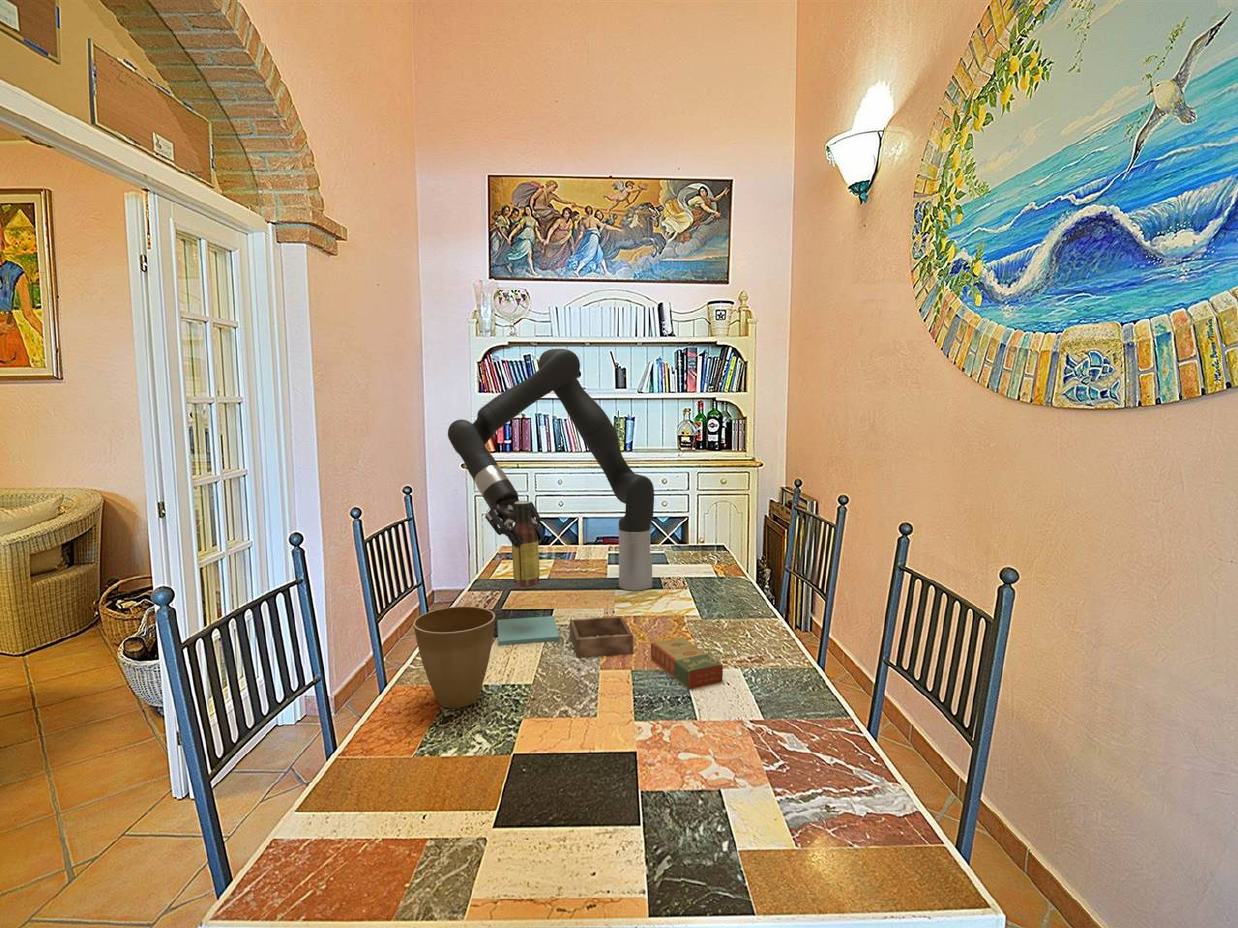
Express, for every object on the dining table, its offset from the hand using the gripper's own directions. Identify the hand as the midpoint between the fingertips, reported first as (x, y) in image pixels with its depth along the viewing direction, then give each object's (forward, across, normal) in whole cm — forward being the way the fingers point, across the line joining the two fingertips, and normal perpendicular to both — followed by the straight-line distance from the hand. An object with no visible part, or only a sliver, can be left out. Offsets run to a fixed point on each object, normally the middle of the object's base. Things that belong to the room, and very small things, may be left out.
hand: (530, 542), depth 158 cm
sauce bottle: (+6, 0, +9) cm, 11 cm away
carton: (+44, +6, -12) cm, 46 cm away
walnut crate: (+28, +5, +3) cm, 28 cm away
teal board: (+15, 0, +17) cm, 22 cm away
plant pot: (+25, -32, +6) cm, 41 cm away
